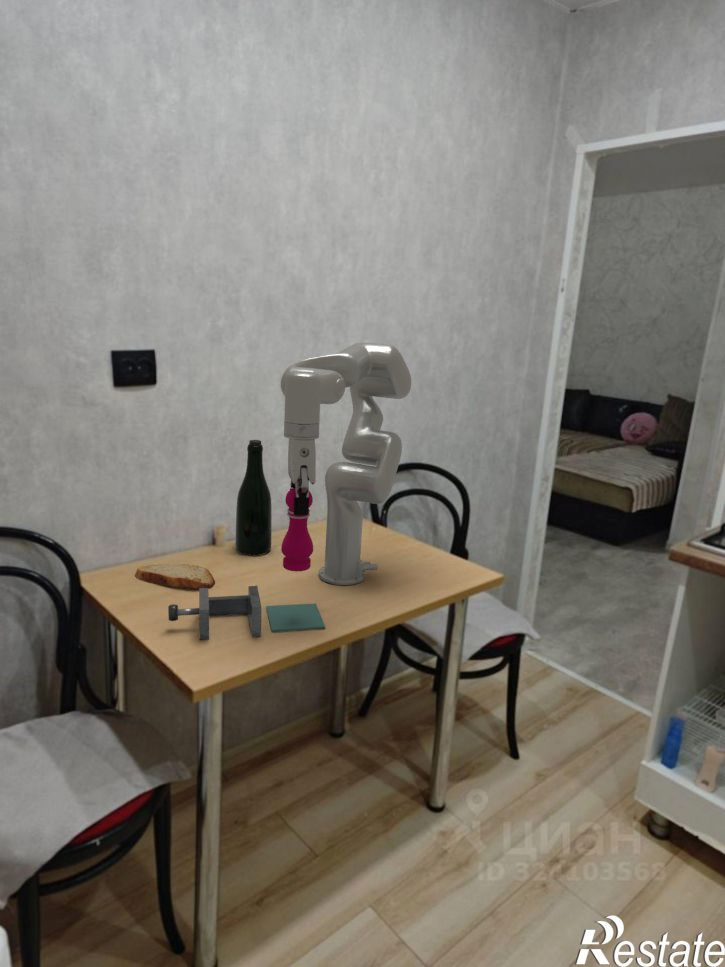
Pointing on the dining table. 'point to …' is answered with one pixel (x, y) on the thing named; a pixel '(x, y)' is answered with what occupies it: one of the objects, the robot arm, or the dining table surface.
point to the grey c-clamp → (223, 610)
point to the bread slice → (177, 576)
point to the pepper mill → (297, 538)
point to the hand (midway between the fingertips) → (298, 509)
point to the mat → (294, 617)
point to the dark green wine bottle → (254, 506)
